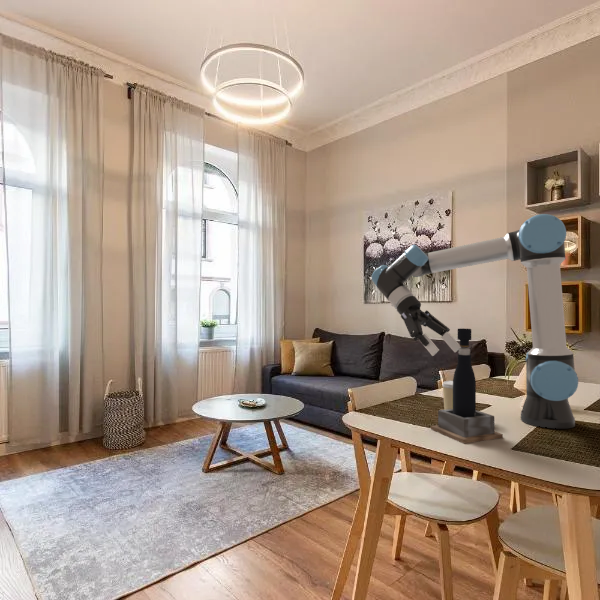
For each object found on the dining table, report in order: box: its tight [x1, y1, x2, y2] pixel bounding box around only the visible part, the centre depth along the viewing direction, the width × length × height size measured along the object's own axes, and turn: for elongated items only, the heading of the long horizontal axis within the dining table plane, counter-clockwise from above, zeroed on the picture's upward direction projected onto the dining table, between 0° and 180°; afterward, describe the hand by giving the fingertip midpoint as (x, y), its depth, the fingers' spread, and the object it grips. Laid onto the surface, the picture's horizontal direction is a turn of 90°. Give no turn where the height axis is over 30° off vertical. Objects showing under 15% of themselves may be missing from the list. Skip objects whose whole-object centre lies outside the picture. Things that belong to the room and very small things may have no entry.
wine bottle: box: [452, 328, 477, 418], centre depth 124 cm, size 6×6×30 cm
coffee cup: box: [441, 380, 453, 410], centre depth 140 cm, size 9×9×12 cm
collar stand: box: [430, 409, 504, 444], centre depth 124 cm, size 14×14×6 cm
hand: (447, 351), depth 128 cm, fingers open, 13 cm apart
